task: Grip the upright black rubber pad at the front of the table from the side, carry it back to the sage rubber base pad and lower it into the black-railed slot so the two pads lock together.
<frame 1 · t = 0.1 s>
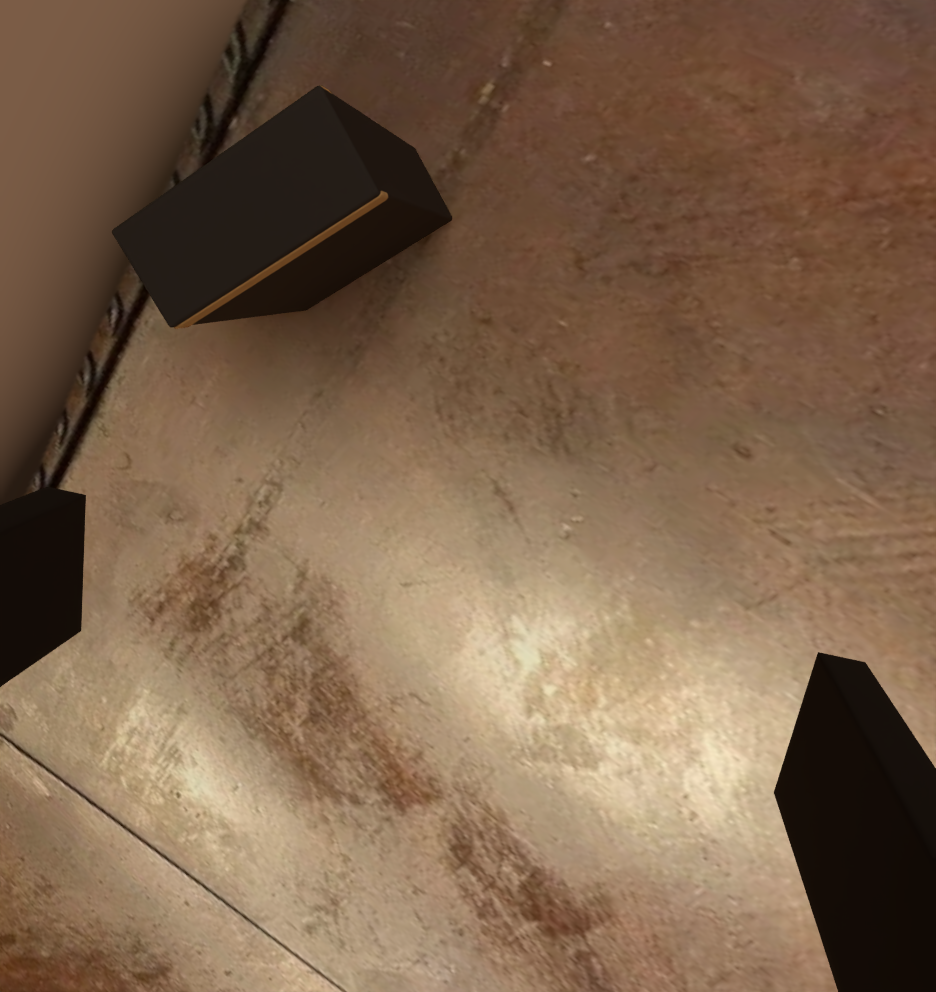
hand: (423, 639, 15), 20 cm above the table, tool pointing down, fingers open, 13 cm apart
black pad: (357, 231, 32), on the table
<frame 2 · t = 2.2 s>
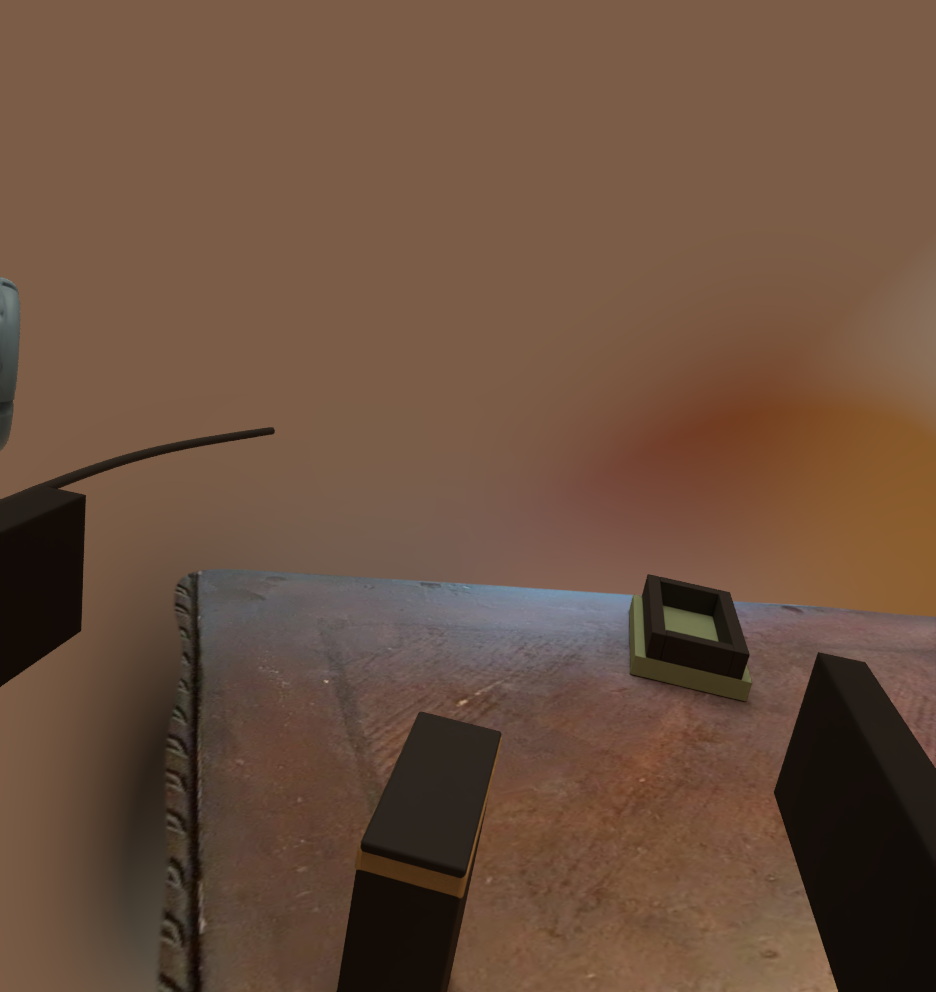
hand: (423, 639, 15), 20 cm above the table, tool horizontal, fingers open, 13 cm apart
base pad: (682, 652, 63), on the table
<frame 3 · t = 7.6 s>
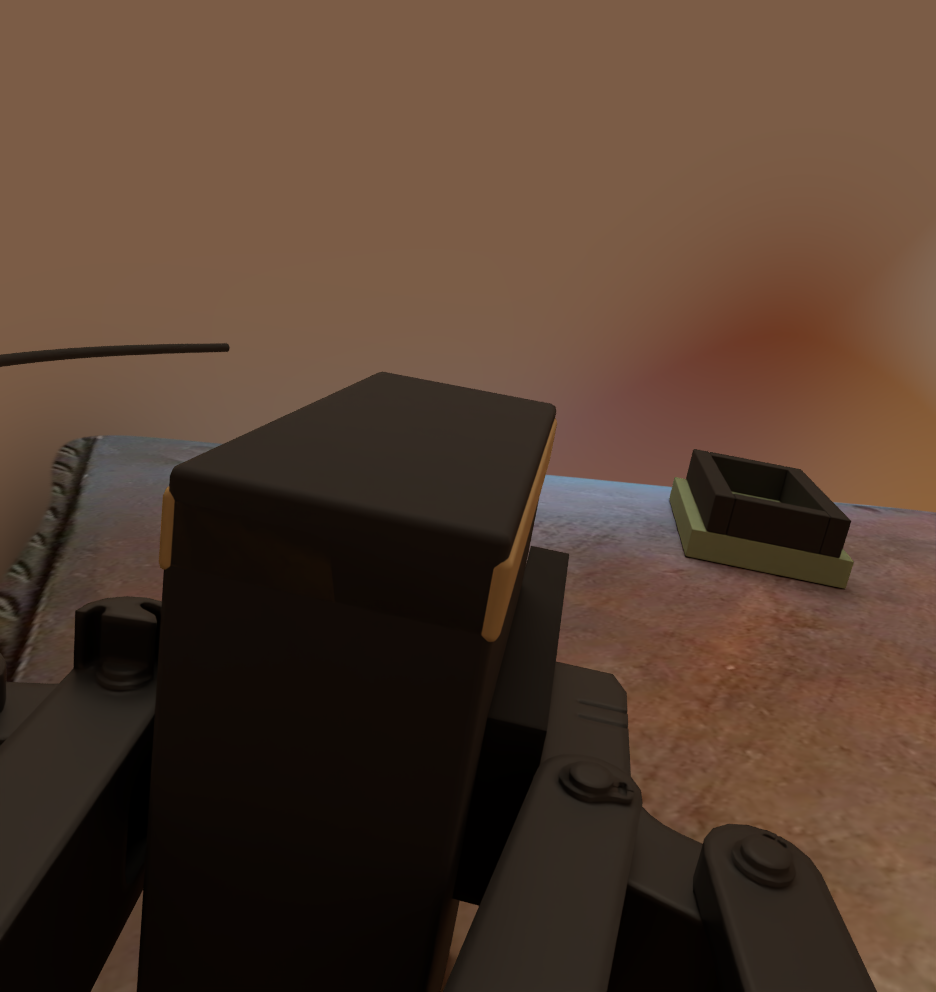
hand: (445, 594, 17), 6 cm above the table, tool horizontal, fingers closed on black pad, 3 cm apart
base pad: (746, 538, 47), on the table
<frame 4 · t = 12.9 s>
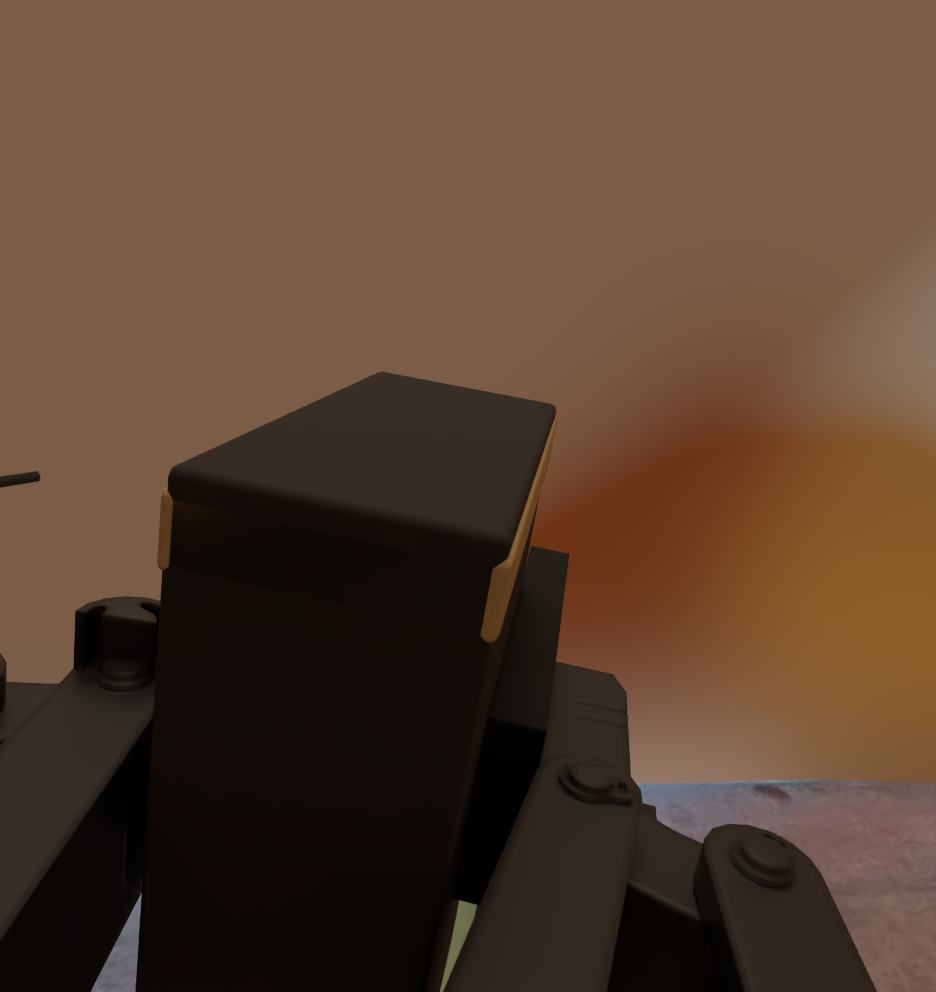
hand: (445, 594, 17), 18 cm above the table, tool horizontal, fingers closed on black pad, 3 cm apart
base pad: (556, 953, 31), on the table
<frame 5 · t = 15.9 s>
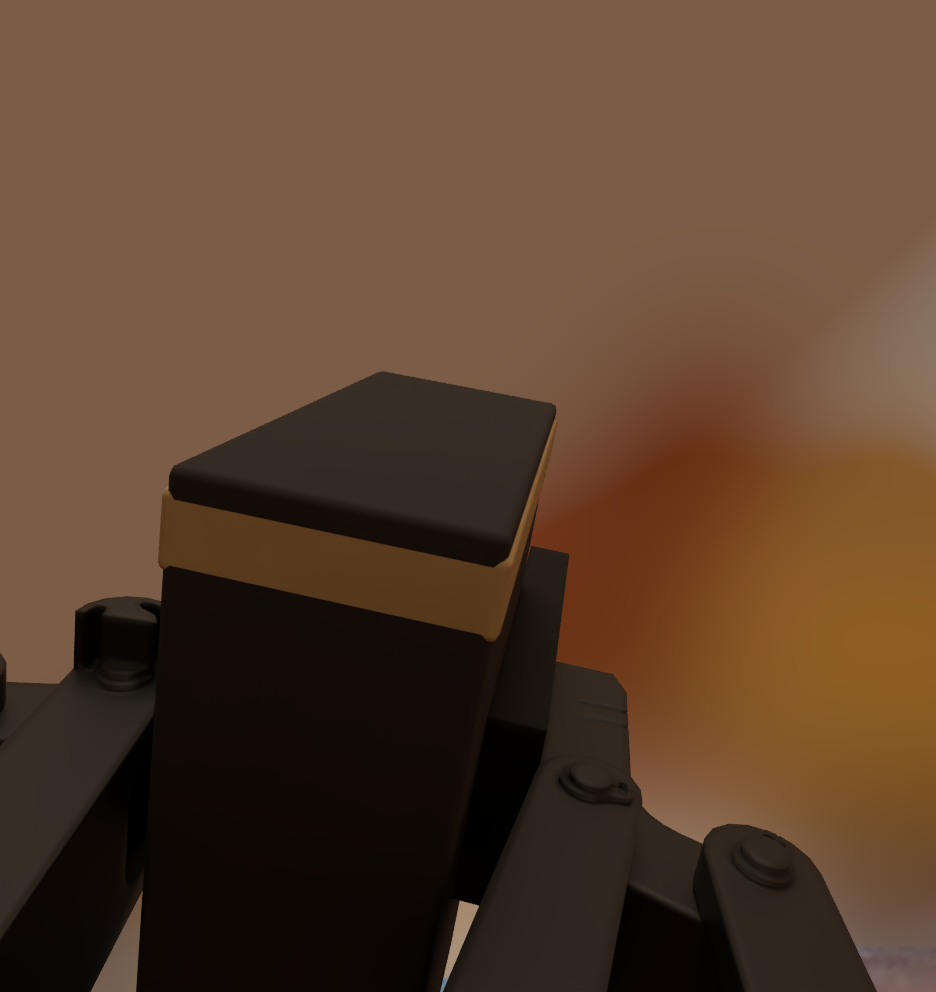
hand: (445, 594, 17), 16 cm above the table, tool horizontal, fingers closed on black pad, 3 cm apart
when the fingers open (8 cm above the table, at t = 18.2 s): black pad stays where it is, resting on base pad.
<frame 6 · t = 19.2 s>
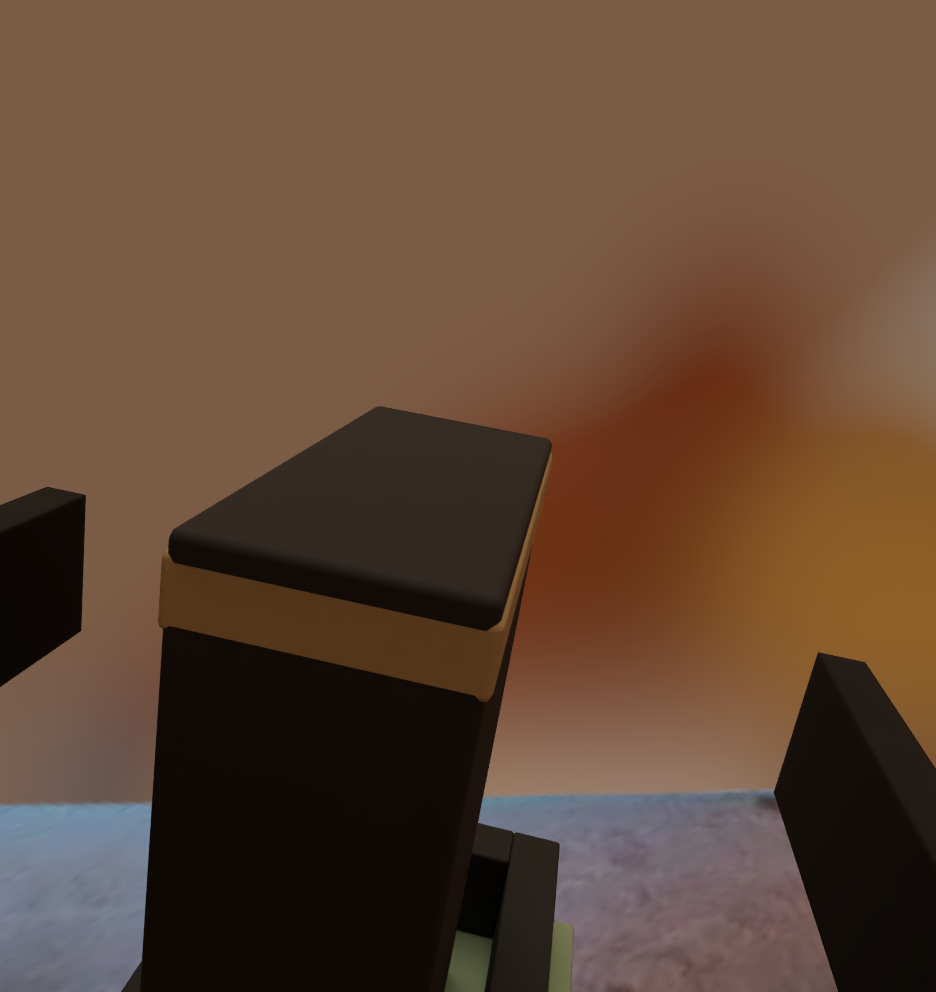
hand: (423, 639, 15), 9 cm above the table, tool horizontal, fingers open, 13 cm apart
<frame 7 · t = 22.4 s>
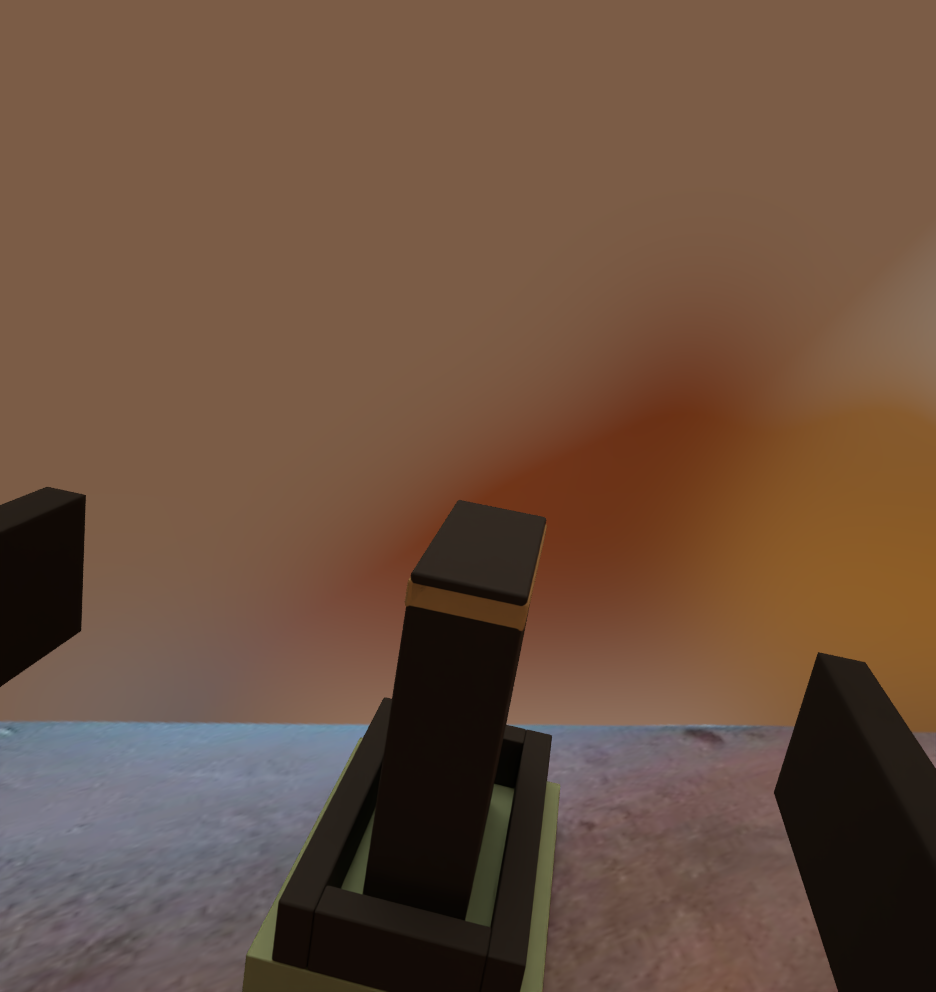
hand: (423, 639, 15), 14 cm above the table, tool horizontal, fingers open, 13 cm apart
black pad: (431, 854, 27), point 1 cm above the table, touching base pad
base pad: (424, 891, 28), on the table
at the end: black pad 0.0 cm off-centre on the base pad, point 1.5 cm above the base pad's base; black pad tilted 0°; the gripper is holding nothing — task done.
